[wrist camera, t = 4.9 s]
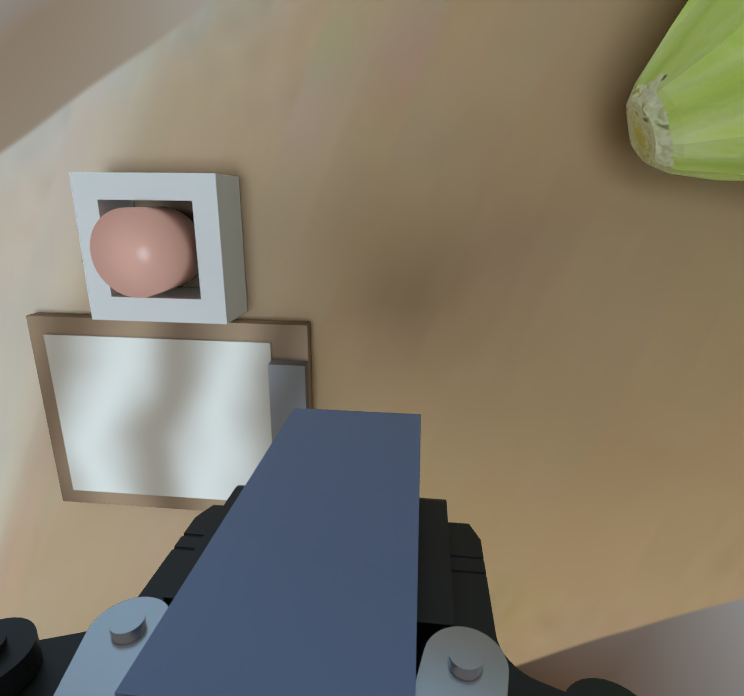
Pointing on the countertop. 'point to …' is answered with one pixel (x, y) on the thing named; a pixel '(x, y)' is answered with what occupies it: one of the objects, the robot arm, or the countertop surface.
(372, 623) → the blue grey block
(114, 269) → the button
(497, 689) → the robot arm
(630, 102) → the lettuce
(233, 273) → the button housing
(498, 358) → the countertop surface
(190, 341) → the clipboard
